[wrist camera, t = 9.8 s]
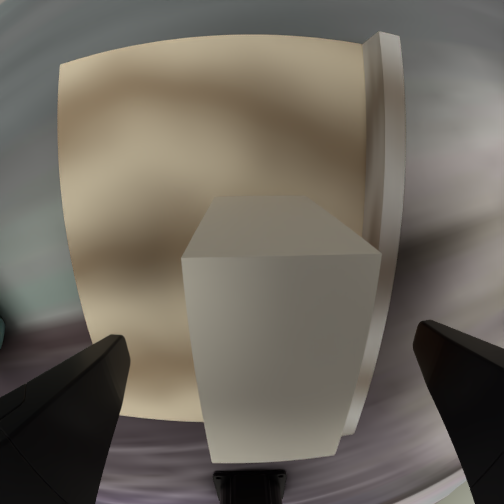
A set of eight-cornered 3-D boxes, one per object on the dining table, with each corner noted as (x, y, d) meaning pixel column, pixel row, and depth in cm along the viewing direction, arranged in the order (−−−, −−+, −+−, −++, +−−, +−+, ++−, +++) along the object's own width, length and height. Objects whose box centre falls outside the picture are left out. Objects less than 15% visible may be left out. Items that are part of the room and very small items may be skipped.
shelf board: (345, 403, 19) (356, 433, 16) (123, 405, 19) (112, 435, 16) (376, 53, 12) (403, 37, 9) (69, 68, 12) (39, 56, 9)
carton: (221, 332, 16) (211, 462, 8) (214, 196, 13) (181, 257, 6) (303, 330, 16) (341, 453, 8) (310, 195, 13) (392, 253, 6)
